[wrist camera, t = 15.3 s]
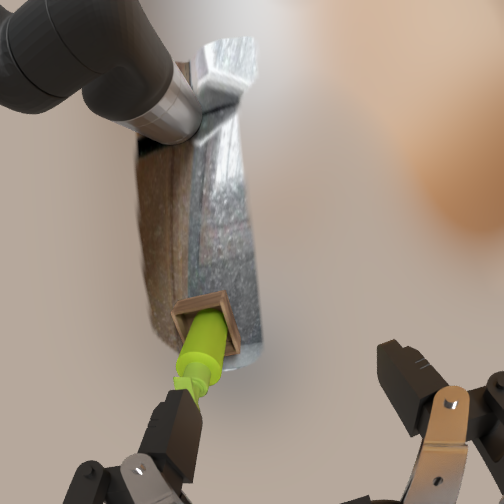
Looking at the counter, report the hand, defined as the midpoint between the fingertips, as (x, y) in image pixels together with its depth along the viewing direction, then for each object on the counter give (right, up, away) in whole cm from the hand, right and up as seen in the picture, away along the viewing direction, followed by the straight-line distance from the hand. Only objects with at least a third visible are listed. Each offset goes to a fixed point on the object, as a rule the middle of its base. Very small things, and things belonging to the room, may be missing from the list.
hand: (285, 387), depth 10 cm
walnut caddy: (-8, -6, +35) cm, 37 cm away
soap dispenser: (-8, -6, +35) cm, 36 cm away
